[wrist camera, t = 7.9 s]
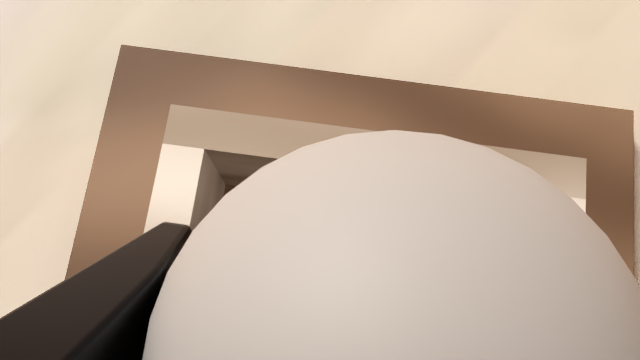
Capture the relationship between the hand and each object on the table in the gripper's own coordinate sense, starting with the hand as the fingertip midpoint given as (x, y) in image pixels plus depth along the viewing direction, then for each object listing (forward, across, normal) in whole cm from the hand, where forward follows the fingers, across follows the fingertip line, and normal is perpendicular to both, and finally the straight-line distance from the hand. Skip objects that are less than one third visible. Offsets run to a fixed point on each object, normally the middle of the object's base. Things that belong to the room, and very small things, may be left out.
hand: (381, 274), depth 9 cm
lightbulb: (+4, -1, +6) cm, 7 cm away
